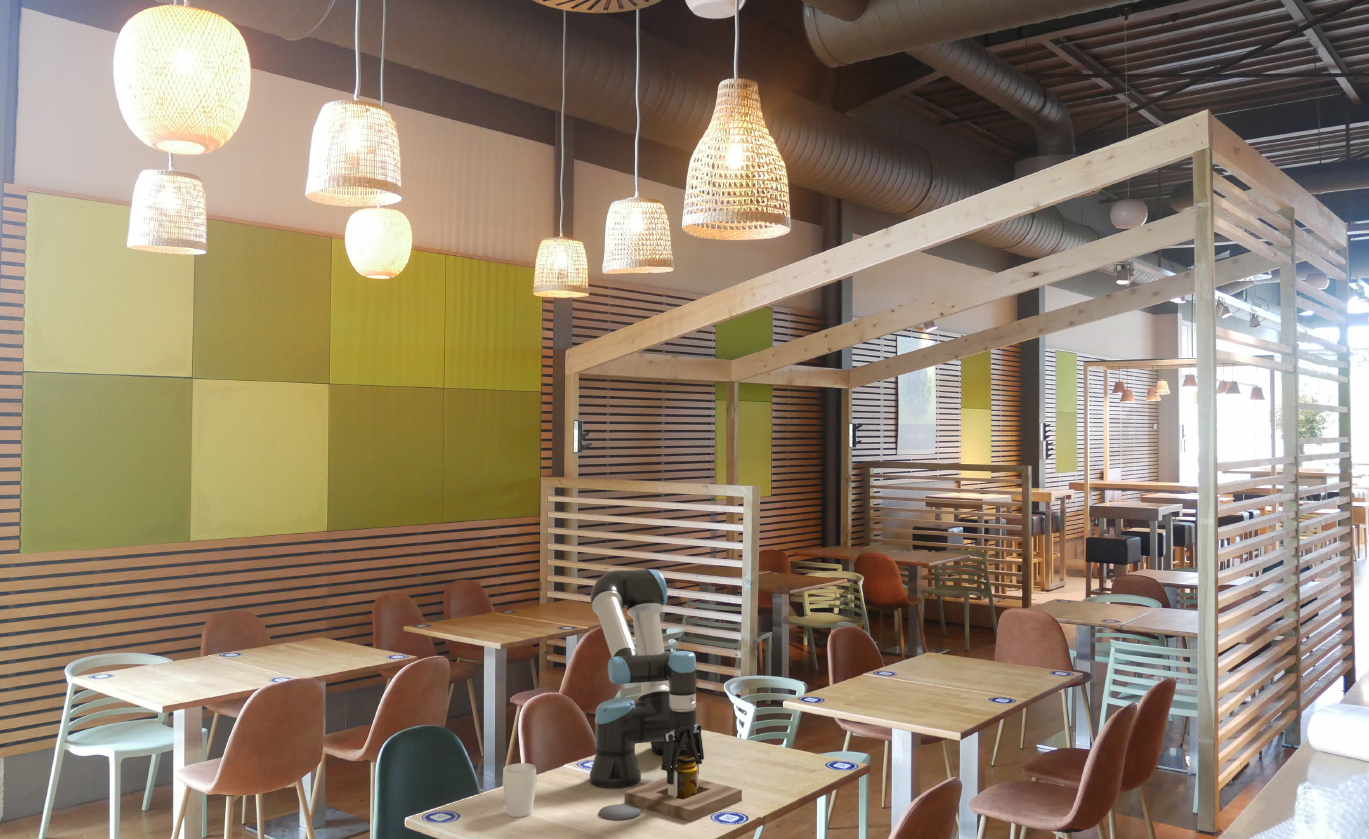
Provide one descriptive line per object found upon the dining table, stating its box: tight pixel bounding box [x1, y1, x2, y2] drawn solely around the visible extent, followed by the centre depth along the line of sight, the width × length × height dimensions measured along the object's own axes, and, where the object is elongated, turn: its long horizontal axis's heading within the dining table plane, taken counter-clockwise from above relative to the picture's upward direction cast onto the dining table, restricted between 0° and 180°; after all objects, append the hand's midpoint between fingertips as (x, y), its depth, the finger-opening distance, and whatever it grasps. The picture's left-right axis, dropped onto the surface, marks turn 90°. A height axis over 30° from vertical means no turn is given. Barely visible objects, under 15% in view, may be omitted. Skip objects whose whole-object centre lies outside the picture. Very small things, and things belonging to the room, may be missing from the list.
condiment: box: [675, 756, 697, 800], centre depth 284 cm, size 7×8×12 cm
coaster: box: [598, 803, 642, 821], centre depth 274 cm, size 11×11×1 cm
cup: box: [502, 762, 538, 818], centre depth 275 cm, size 9×9×12 cm
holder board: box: [623, 776, 743, 822], centre depth 283 cm, size 24×22×3 cm
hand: (683, 791), depth 283 cm, fingers open, 8 cm apart
